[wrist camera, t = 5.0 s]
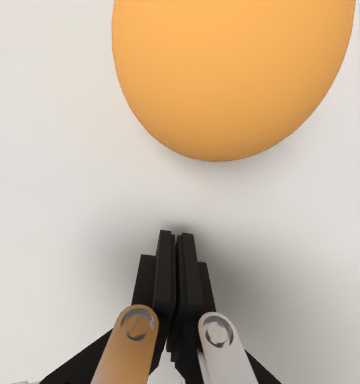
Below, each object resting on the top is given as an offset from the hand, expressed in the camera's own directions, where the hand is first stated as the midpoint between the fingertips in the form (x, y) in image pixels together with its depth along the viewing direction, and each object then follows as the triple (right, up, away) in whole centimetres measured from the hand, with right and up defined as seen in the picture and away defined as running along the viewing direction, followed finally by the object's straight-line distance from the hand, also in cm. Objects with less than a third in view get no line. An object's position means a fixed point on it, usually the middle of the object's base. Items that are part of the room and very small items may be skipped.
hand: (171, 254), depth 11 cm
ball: (+2, +7, -5) cm, 9 cm away
